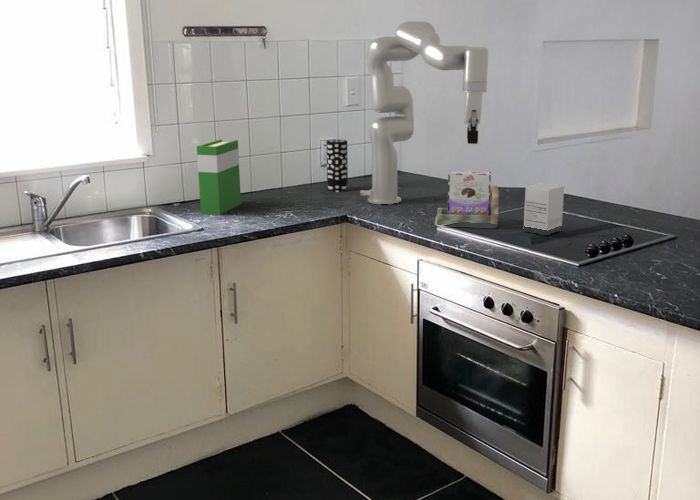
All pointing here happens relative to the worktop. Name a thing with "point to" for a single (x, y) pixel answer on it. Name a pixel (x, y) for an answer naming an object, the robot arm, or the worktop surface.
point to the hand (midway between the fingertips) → (472, 141)
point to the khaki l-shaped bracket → (491, 218)
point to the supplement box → (543, 206)
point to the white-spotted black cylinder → (337, 166)
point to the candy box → (469, 192)
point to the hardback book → (218, 176)
